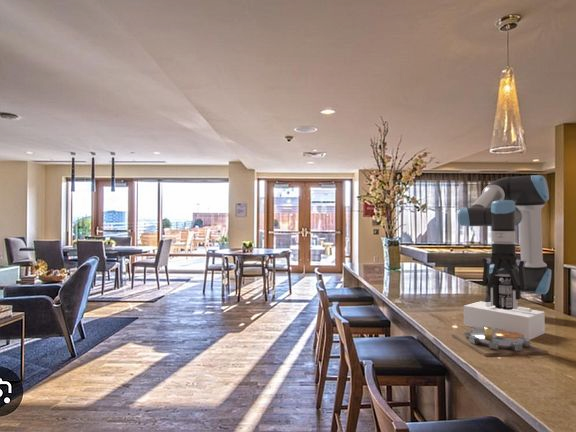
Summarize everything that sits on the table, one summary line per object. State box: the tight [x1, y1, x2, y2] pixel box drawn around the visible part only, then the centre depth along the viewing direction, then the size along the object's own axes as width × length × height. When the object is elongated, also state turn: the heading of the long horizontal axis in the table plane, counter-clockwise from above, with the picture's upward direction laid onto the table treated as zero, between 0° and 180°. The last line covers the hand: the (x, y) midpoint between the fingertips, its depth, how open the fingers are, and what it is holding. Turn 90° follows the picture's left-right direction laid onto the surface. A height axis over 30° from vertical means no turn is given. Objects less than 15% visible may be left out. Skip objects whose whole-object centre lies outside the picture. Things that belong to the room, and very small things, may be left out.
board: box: [451, 333, 549, 357], centre depth 135 cm, size 22×21×1 cm
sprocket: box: [464, 327, 531, 351], centre depth 135 cm, size 20×20×6 cm
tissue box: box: [463, 300, 546, 341], centre depth 155 cm, size 14×25×11 cm, turn 37°
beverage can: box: [494, 274, 514, 310], centre depth 137 cm, size 7×7×12 cm
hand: (504, 306), depth 137 cm, fingers closed on beverage can, 7 cm apart
